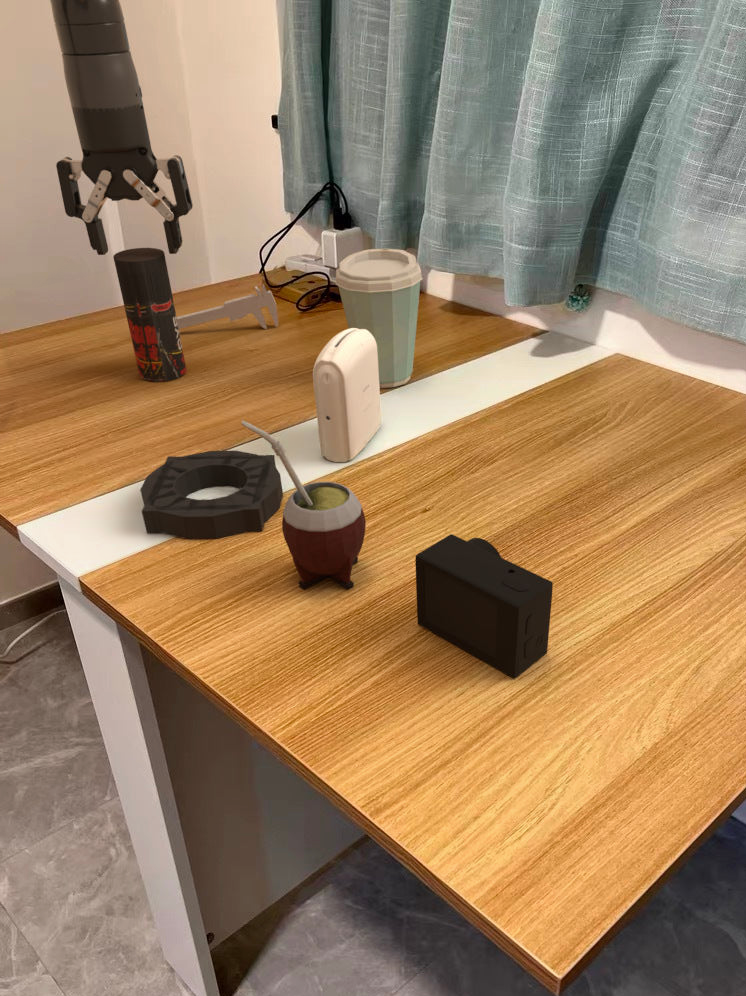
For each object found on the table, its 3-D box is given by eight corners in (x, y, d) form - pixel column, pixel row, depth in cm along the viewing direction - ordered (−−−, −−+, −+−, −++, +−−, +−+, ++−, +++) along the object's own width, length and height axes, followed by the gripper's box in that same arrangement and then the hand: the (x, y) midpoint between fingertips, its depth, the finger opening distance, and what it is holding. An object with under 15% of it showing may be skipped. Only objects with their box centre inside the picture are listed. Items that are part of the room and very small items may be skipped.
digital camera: (558, 646, 71) (564, 574, 67) (516, 680, 68) (520, 607, 63) (460, 595, 76) (461, 526, 72) (417, 624, 73) (415, 553, 69)
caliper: (279, 325, 130) (273, 282, 127) (279, 328, 129) (274, 284, 126) (135, 336, 127) (125, 292, 124) (134, 338, 126) (124, 294, 123)
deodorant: (137, 367, 118) (111, 250, 109) (183, 361, 119) (161, 245, 110) (141, 384, 113) (115, 263, 104) (189, 378, 115) (166, 258, 106)
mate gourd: (384, 574, 79) (375, 419, 70) (313, 611, 75) (294, 451, 66) (332, 541, 83) (318, 391, 74) (262, 575, 79) (238, 420, 70)
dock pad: (131, 540, 84) (125, 517, 82) (164, 472, 94) (159, 451, 93) (272, 537, 84) (269, 515, 82) (289, 470, 95) (286, 449, 93)
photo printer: (352, 465, 95) (343, 354, 88) (315, 460, 96) (304, 350, 89) (386, 425, 103) (381, 320, 96) (352, 421, 104) (344, 316, 97)
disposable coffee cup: (417, 398, 109) (413, 274, 100) (332, 393, 111) (321, 270, 102) (432, 365, 118) (429, 248, 109) (353, 361, 119) (344, 245, 110)
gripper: (29, 106, 94) (70, 263, 104) (163, 104, 94) (191, 260, 104) (52, 96, 100) (89, 245, 110) (179, 94, 100) (204, 243, 110)
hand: (139, 252), depth 107 cm, fingers open, 8 cm apart
